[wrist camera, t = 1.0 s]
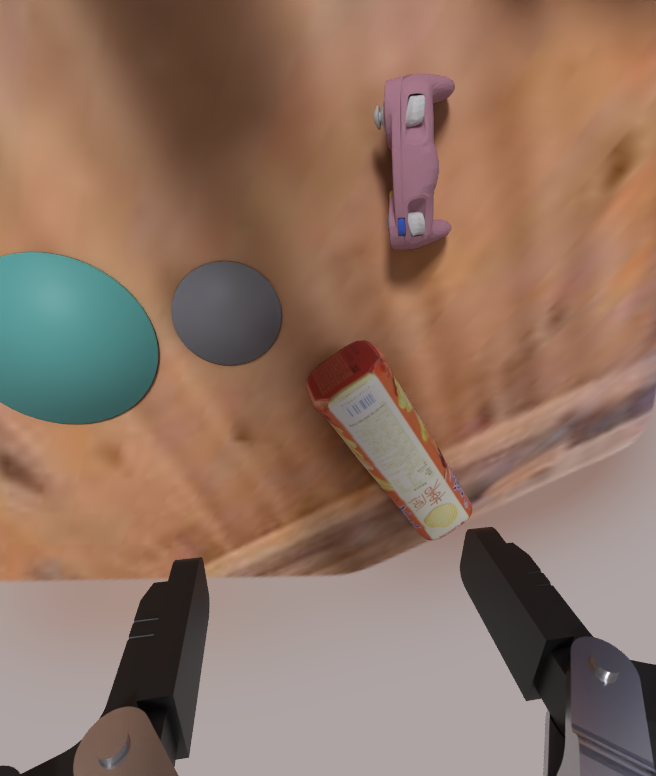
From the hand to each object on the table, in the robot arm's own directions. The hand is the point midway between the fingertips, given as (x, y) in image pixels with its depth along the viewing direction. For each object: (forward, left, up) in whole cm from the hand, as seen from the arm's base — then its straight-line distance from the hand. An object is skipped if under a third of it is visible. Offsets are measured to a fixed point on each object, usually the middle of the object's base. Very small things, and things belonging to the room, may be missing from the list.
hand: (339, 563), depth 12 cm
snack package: (+13, +9, -23) cm, 27 cm away
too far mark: (-1, -3, -22) cm, 22 cm away
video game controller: (-9, +11, -22) cm, 27 cm away
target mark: (-1, -15, -22) cm, 27 cm away
